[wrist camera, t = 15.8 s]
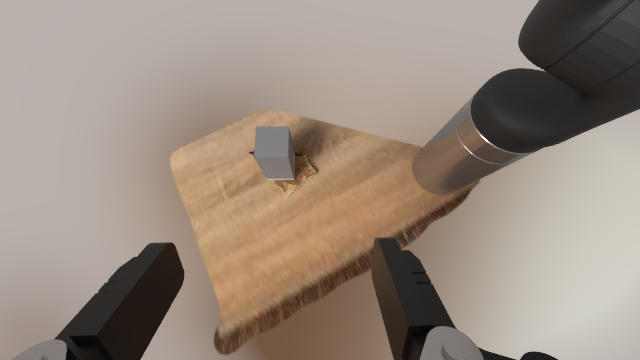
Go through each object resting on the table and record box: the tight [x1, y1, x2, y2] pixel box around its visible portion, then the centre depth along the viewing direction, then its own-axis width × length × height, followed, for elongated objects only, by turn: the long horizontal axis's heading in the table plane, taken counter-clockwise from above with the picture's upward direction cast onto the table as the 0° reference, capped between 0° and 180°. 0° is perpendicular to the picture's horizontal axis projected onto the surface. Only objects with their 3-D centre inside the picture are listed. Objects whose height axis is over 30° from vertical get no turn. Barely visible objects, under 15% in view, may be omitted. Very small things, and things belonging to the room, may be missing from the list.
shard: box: [249, 152, 316, 196], centre depth 44 cm, size 11×8×2 cm
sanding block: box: [254, 127, 295, 180], centre depth 38 cm, size 5×5×10 cm
